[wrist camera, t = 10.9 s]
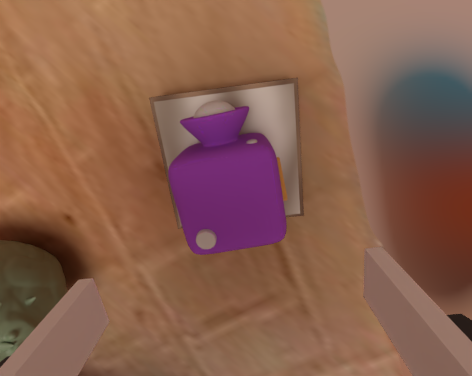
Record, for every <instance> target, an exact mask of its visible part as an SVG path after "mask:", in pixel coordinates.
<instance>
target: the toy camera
mask: <svg viewBox="0 0 472 376" xmlns="http://www.w3.org/2000/svg"><path fill="white" fill-rule="evenodd" d="M248 112H249V107H248V106H242V107H236V108H234V107H233V106H232V105H230V104H229V103H227V102H223V101H211V102H208V103H205V104H204V105H202V106H201V107H199V108H198V110H197V111H196V112H195V115H194V116H193V117H189V118H185V119H182V120H181V121H180V123H181V125H182V126H183V127H184V128H185V129H186V130H187V131H188V132H190V133H191V134H192V135H193V136H194V137H195V138H196V139H198V140H199V141H200V142H201V143H197V144H194V145H191V146H189V147H187V148H186V149H185V150H183V151H182V152H181V153H180V154H179V155H178V156H177V157H176V158H175V159H174V160H173V161H172V163H171V164H170V166H169V170H168V177H169V182H170V186H171V189H172V193H173V196H174V200H175V203H176V207H177V210H178V214H179V217H180V220H181V224H182V227H183V230H184V234H185V237H186V240H187V243H188V245H189V247H190V249H191V250H192V251H193V252H194V253H195V254H200V255H202V254H213V253H220V252H226V251H232V250H239V249H245V248H251V247H257V246H263V245H269V244H273V243H276V242H279V241H281V240H282V239H283V238H284V236H285V234H286V216H285V208H284V201H287V200H288V198H287V193H286V188H285V183H284V178H283V173H282V168H281V163H280V158H279V157H276V154H275V151H274V149H273V147H272V145H271V144H270V142H269V140H268V139H267V138H266V137H265V136H264V135H263V134H261V133H247V134H241V135H239V132H240V130H241V128H242V126H243V124H244V122H245V119H246V117H247V115H248Z"/></svg>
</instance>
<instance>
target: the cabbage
mask: <svg viewBox="0 0 472 376" xmlns="http://www.w3.org/2000/svg"><path fill="white" fill-rule="evenodd" d="M66 293H67V286H66V279H65V276H64V274H63V269H62V266H61V264H60V263H59V261H58V260H57V258H56V257H55V256H53V255H52V254H50V253H48V252H47V251H45V250H43V249H41V248H38V247H36V246H33V245H30V244H25V243H21V242H17V241H7V240H0V362H1V361H2V360H3V359H5V358H6V357H7V356H11V355H12V354H13V353H14V352H15V351H16V349H17V348H18V347H19V346H20V345H21V344H22V343H23V342H24V340H25V339H26V338H27V337H28V336H29V335H30V334H31V332H32V331H33V330H34V329H35V328H36V327H37V326H38V325H39V323H40V322H41V321H42V320H43V319H44V318H45V317H46V316H47V314H48V313H49V312H50V311H51V310H52V309H53V308H54V307H55V305H56V304H57V303H58V302H59V301H60V300H61V299H62V298H63V296H64V295H65V294H66Z"/></svg>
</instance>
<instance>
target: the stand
mask: <svg viewBox="0 0 472 376" xmlns="http://www.w3.org/2000/svg"><path fill="white" fill-rule="evenodd" d="M149 99H150V104H151V108H152V113H153V117H154V122H155V126H156V131H157V135H158V140H159V144H160V149H161V153H162V158H163V162H164V167H165V171H166V176H167V181H168V185H169V190H170V194H171V199H172V203H173V208H174V212H175V217H176V221H177V226H178V229H179V228H183V227H182V224H181V220H180V217H179V214H178V210H177V207H176V203H175V200H174V196H173V193H172V189H171V186H170V182H169V177H168V170H169V166H170V164H171V163H172V161H173V160H174V159H175V158H176V157H177V156H178V155H179V154H180V153H181V152H182V151H183V150H185V149H186V148H187V147H189V146H191V145H194V144H197V143H201V142H200V141H199V140H198V139H196V138H195V137H194V136H193V135H192V134H191V133H190V132H188V131H187V130H186V129H185V128H184V127H183V126H182V125H181V123H180V121H181V120H182V119H185V118H189V117H193V116H194V115H195V112H196V111H197V110H198V108H199V107H201V106H202V105H204V104H205V103H208V102H211V101H223V102H227V103H229V104H230V105H232V106H233V107H234V108H236V107H242V106H248V107H249V112H248V115H247V117H246V119H245V122H244V124H243V126H242V128H241V130H240V132H239V135H241V134H247V133H261V134H263V135H264V136H265V137H266V138H267V139H268V140H269V142H270V144H271V145H272V147H273V149H274V151H275V154H276V157H279V158H280V163H281V168H282V173H283V178H284V183H285V188H286V193H287V198H288V200H287V201H284V208H285V216H286V217H294V216H303V215H304V210H303V188H302V165H301V142H300V119H299V97H298V78H292V79H284V80H277V81H269V82H262V83H255V84H247V85H240V86H232V87H225V88H217V89H210V90H203V91H195V92H188V93H180V94H173V95H165V96H158V97H150V98H149Z"/></svg>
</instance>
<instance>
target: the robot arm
mask: <svg viewBox="0 0 472 376" xmlns="http://www.w3.org/2000/svg"><path fill="white" fill-rule="evenodd" d="M364 298H365V300H366V301H367V303H368V304H369V306H370V308H371V309H372V311H373V313H374V314H375V316H376V317H377V319H378V321H379V322H380V324H381V325H382V327H383V329H384V330H385V332H386V333H387V335H388V337H389V338H390V340H391V341H392V343H393V345H394V346H395V348H396V350H397V351H398V353H399V354H400V356H401V357H402V359H403V361H404V362H405V364H406V366H407V367H408V369H409V370H410V372H411V374H412V375H413V376H472V320H470V319H469V318H467V317H466V316H463V315H462V314H453V315H445V313H444V312H443V311H442V310H441V309H440V308H439V307H438V306H437V305H436V304H435V302H434V301H433V300H432V299H431V298H430V297H429V296H428V295H427V294H426V293H425V292H424V291H423V290H422V289H421V288H420V287H419V286H418V285H417V284H416V283H415V282H414V280H413V279H412V278H411V277H410V276H409V275H408V274H407V273H406V272H405V271H404V270H403V269H402V268H401V267H400V266H399V265H398V264H397V263H396V261H394V259H393V258H392V257H391V256H390V255H389V254H388V253H387V252H386V251H385V250H384V249H383V248H382V247H376V248H367V249H365V260H364ZM108 323H109V319H108V316H107V314H106V311H105V308H104V306H103V303H102V300H101V298H100V295H99V292H98V290H97V287H96V284H95V281H94V279H93V278H89V279H80V280H78V281H77V282H76V283H75V284H74V285H73V286H72V287H71V289H70V290H69V291H68V292H67V293H66V294H65V295H64V296H63V298H62V299H61V300H60V301H59V302H58V303H57V304H56V305H55V307H54V308H53V309H52V310H51V311H50V312H49V313H48V314H47V316H46V317H45V318H44V319H43V320H42V321H41V322H40V323H39V325H38V326H37V327H36V328H35V329H34V330H33V331H32V332H31V334H30V335H29V336H28V337H27V338H26V339H25V340H24V342H23V343H22V344H21V345H20V346H19V347H18V348H17V349H16V351H15V352H14V353H13V354H12V355H11V356H7V357H6V358H5V359H3V360H2V361H1V362H0V376H78V375H79V373H80V371H81V369H82V368H83V366H84V364H85V363H86V361H87V359H88V357H89V356H90V354H91V352H92V351H93V349H94V347H95V345H96V344H97V342H98V340H99V339H100V337H101V335H102V333H103V332H104V330H105V328H106V327H107V325H108Z"/></svg>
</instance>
